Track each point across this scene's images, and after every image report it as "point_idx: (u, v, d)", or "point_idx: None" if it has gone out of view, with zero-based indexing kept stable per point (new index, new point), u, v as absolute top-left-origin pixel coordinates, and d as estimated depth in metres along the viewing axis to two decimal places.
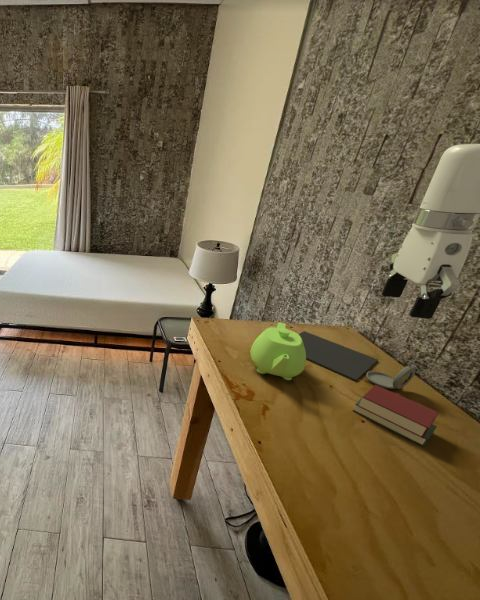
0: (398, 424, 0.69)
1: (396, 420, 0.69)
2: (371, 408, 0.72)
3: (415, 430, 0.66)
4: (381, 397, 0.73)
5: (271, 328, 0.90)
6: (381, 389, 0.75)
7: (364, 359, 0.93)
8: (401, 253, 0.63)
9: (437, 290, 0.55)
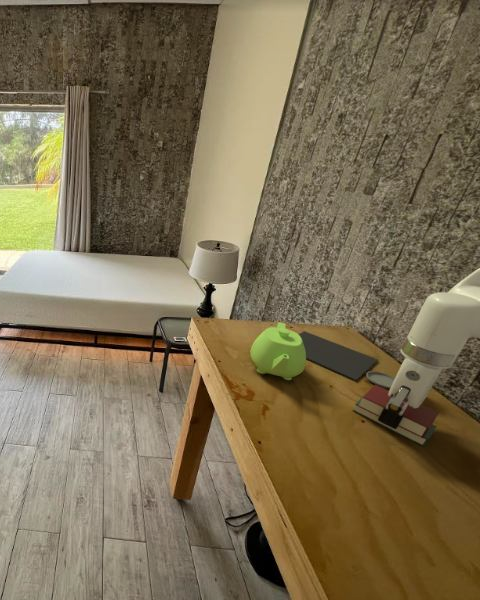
0: None
1: None
2: (371, 408, 0.72)
3: (415, 430, 0.66)
4: (381, 397, 0.73)
5: (271, 328, 0.90)
6: (381, 389, 0.75)
7: (364, 359, 0.93)
8: None
9: (389, 404, 0.67)
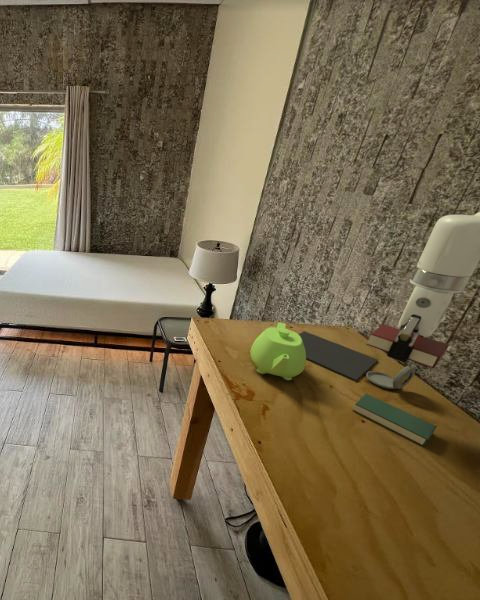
0: None
1: None
2: (380, 344, 0.70)
3: (426, 361, 0.65)
4: (390, 333, 0.71)
5: (271, 328, 0.90)
6: (389, 327, 0.74)
7: (364, 359, 0.93)
8: None
9: (399, 335, 0.65)
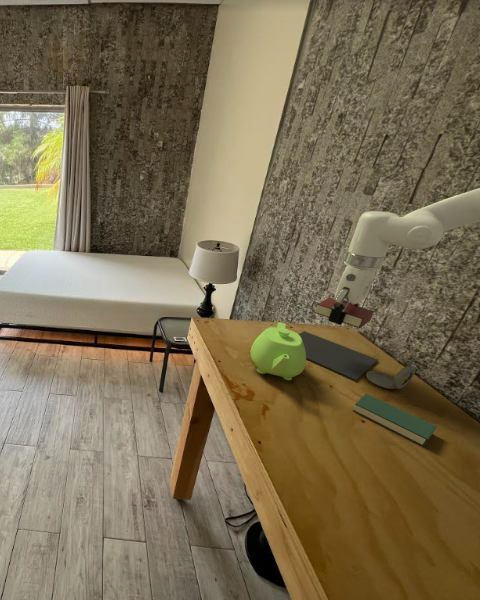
0: None
1: None
2: (323, 311, 0.91)
3: (354, 323, 0.85)
4: (331, 304, 0.92)
5: (271, 328, 0.90)
6: (333, 299, 0.94)
7: (364, 359, 0.93)
8: None
9: (334, 303, 0.86)
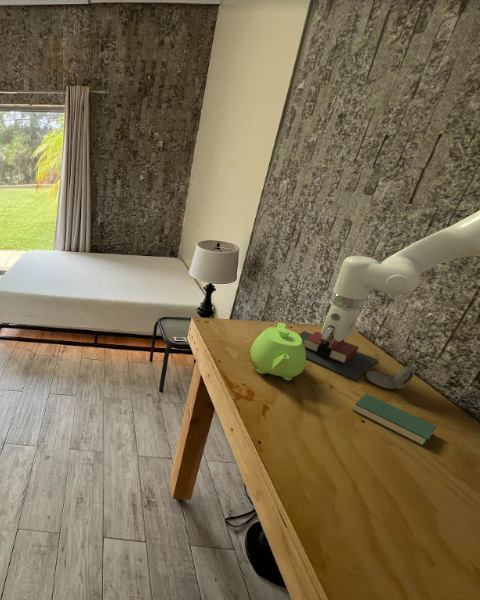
0: (329, 356, 0.93)
1: None
2: (311, 346, 0.96)
3: (339, 358, 0.91)
4: (319, 338, 0.97)
5: (271, 328, 0.90)
6: (320, 333, 0.99)
7: (364, 359, 0.93)
8: None
9: (321, 340, 0.91)
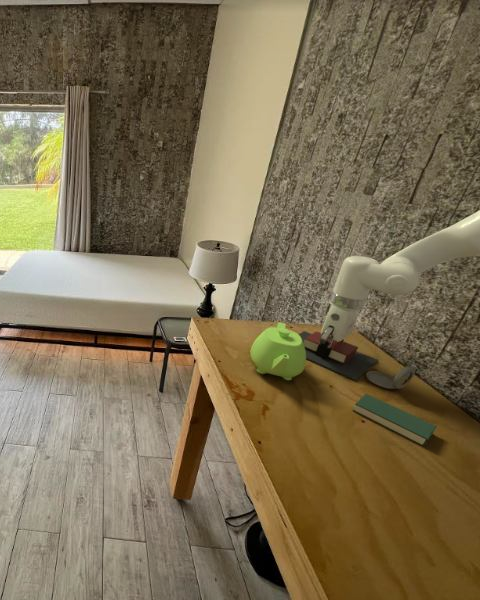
0: None
1: None
2: (311, 346, 0.96)
3: (339, 358, 0.91)
4: (318, 338, 0.97)
5: (271, 328, 0.90)
6: (320, 333, 0.99)
7: (364, 359, 0.93)
8: None
9: (320, 340, 0.91)
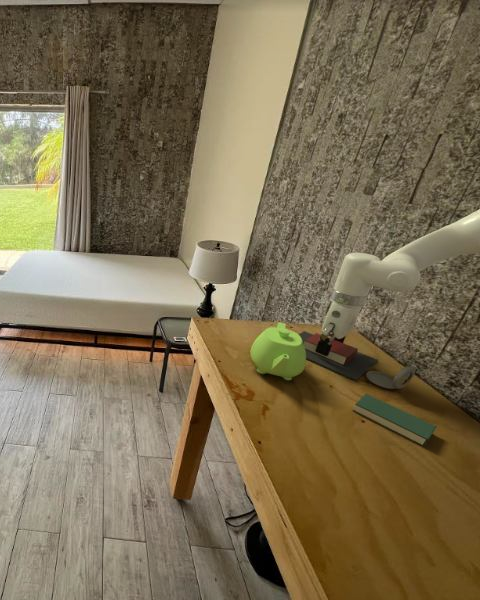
0: (328, 358, 0.93)
1: None
2: (311, 348, 0.97)
3: (339, 360, 0.91)
4: (318, 340, 0.97)
5: (271, 328, 0.90)
6: (320, 335, 1.00)
7: (364, 359, 0.93)
8: None
9: (321, 336, 0.90)
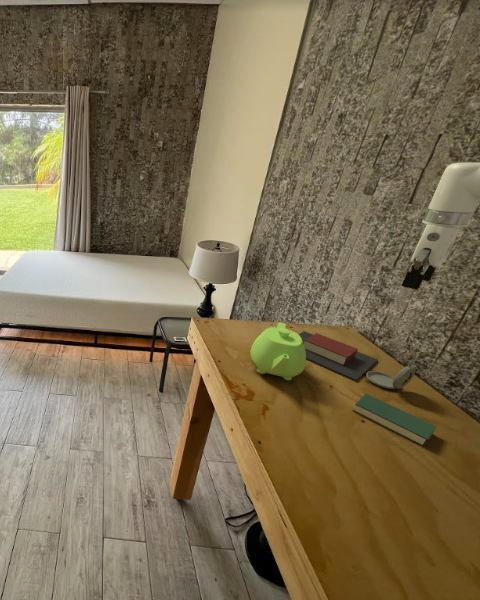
0: (328, 358, 0.93)
1: (327, 355, 0.93)
2: (311, 348, 0.97)
3: (339, 360, 0.91)
4: (318, 340, 0.97)
5: (271, 328, 0.90)
6: (320, 335, 1.00)
7: (364, 359, 0.93)
8: None
9: (412, 265, 0.78)
